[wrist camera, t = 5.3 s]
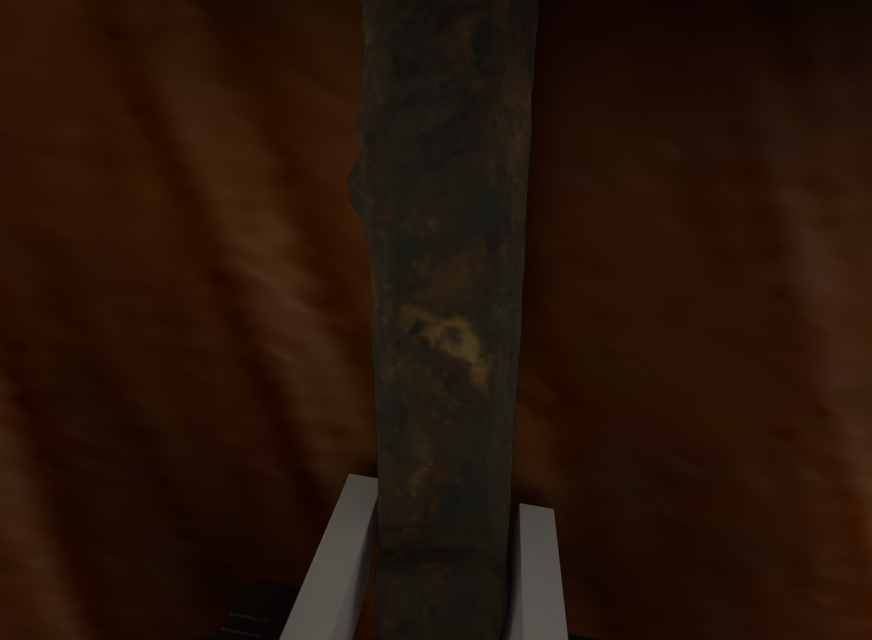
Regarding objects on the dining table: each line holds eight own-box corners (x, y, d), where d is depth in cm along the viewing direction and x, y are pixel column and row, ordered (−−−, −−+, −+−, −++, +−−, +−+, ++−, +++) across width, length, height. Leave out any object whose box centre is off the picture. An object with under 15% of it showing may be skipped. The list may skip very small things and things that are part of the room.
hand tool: (358, -146, 16) (297, -243, 12) (563, -141, 16) (583, -238, 11) (342, 676, 21) (295, 832, 16) (498, 693, 21) (494, 855, 16)
